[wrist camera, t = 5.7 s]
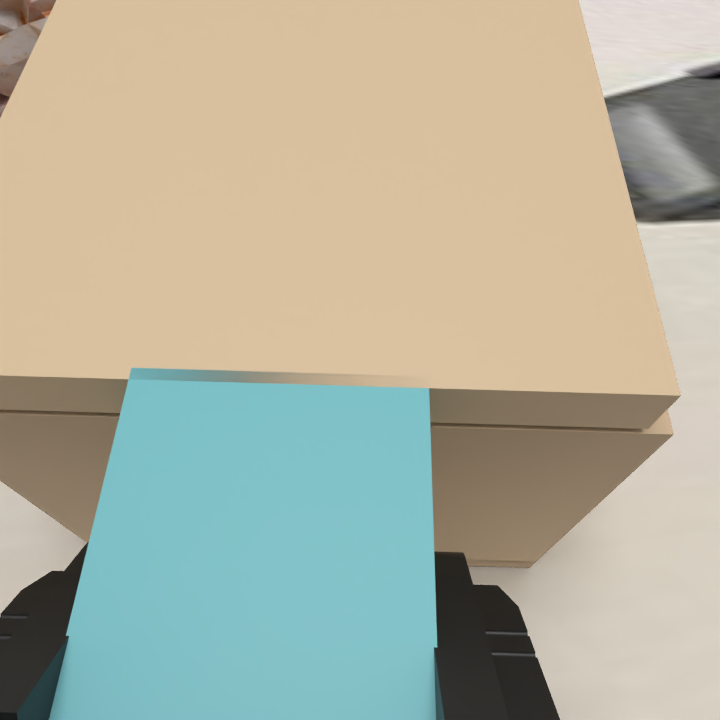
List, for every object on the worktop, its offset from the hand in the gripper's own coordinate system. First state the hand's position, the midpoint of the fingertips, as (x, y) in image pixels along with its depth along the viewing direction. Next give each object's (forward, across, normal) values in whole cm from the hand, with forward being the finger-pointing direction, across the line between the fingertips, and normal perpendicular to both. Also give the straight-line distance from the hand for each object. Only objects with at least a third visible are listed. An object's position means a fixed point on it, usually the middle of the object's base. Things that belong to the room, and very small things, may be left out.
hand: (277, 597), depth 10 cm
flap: (+3, 0, -5) cm, 6 cm away
